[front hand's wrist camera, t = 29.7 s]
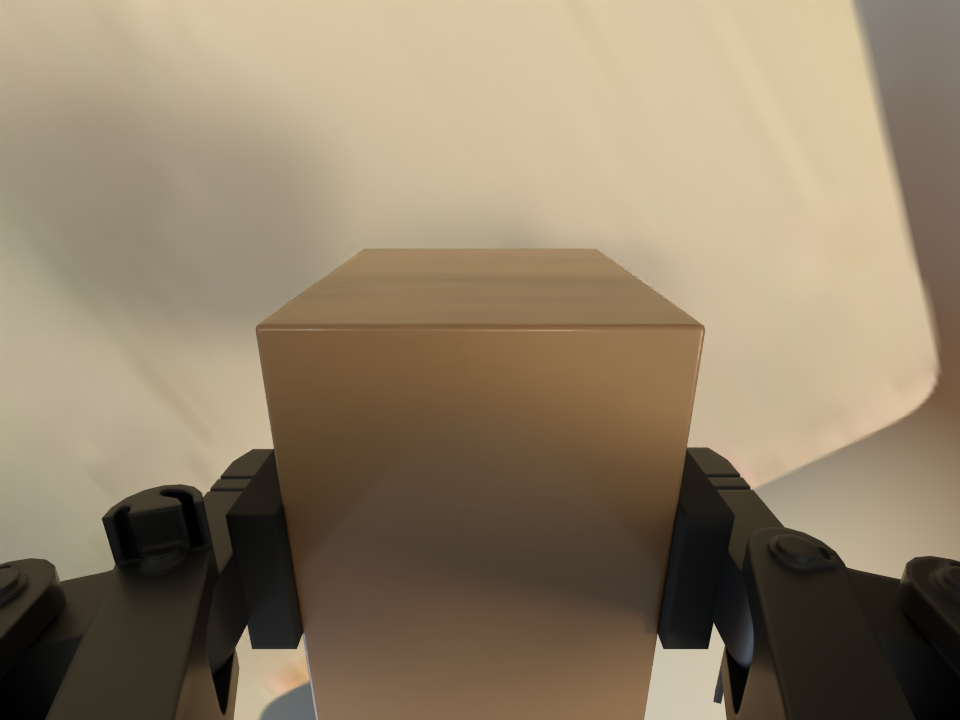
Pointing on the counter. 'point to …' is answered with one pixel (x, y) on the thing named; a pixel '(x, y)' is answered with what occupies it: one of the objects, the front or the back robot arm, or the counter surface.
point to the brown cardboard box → (480, 480)
